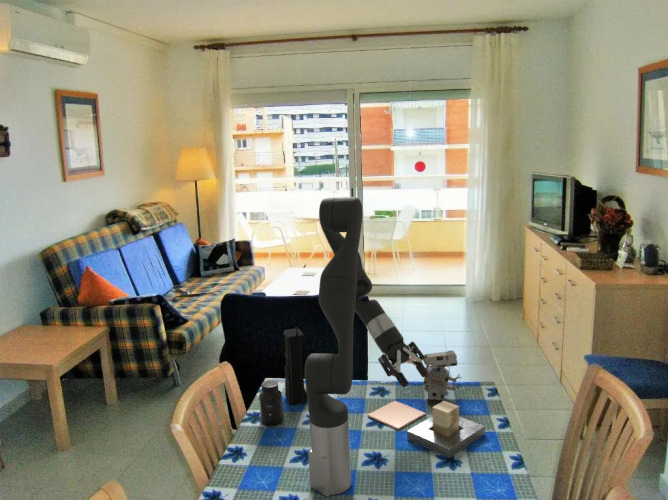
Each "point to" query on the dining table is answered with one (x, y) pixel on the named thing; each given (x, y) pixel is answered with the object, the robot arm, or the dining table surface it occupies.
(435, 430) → the beech peg
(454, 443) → the socket block
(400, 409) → the terracotta tile
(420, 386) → the dining table surface
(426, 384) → the figurine
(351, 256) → the robot arm
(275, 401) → the supplement bottle
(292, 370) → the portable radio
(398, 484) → the dining table surface
